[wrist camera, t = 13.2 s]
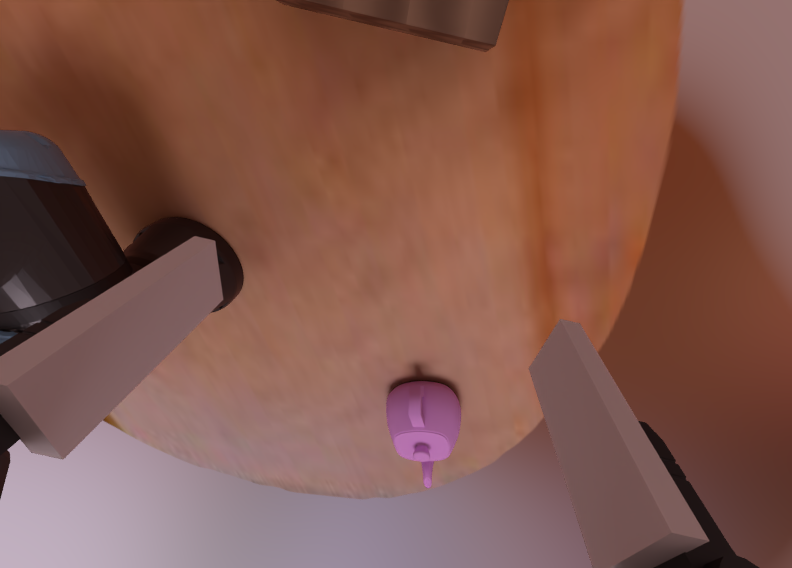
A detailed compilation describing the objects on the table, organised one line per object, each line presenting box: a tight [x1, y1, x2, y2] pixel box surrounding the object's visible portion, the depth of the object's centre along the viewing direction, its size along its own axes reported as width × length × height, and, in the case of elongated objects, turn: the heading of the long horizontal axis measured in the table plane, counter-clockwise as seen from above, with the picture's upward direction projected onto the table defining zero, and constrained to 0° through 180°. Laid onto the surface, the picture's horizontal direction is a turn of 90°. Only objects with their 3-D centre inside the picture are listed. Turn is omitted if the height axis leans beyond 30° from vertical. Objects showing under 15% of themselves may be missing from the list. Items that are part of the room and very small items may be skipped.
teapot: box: [386, 381, 461, 488], centre depth 55 cm, size 13×20×11 cm
